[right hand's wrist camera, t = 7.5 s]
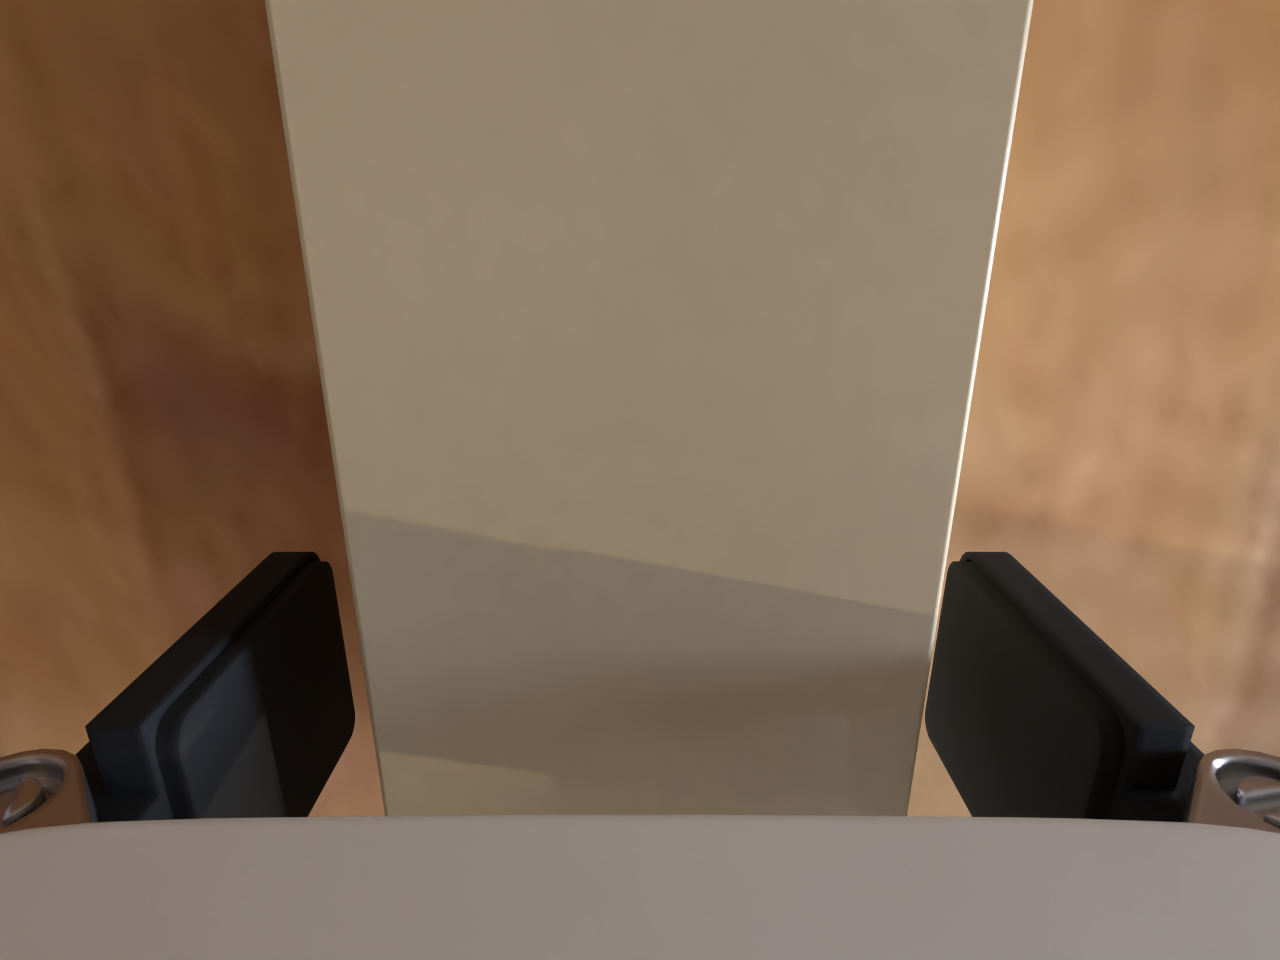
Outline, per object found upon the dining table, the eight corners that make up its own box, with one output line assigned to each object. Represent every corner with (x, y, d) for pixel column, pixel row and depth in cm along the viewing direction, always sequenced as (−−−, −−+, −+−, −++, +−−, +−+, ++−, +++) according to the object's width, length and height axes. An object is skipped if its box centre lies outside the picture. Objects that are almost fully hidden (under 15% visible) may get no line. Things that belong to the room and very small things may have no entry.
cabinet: (422, -586, 10) (-137, -2626, 3) (868, -586, 10) (1452, -2628, 3) (510, 678, 17) (413, 1025, 10) (776, 678, 17) (877, 1027, 10)
